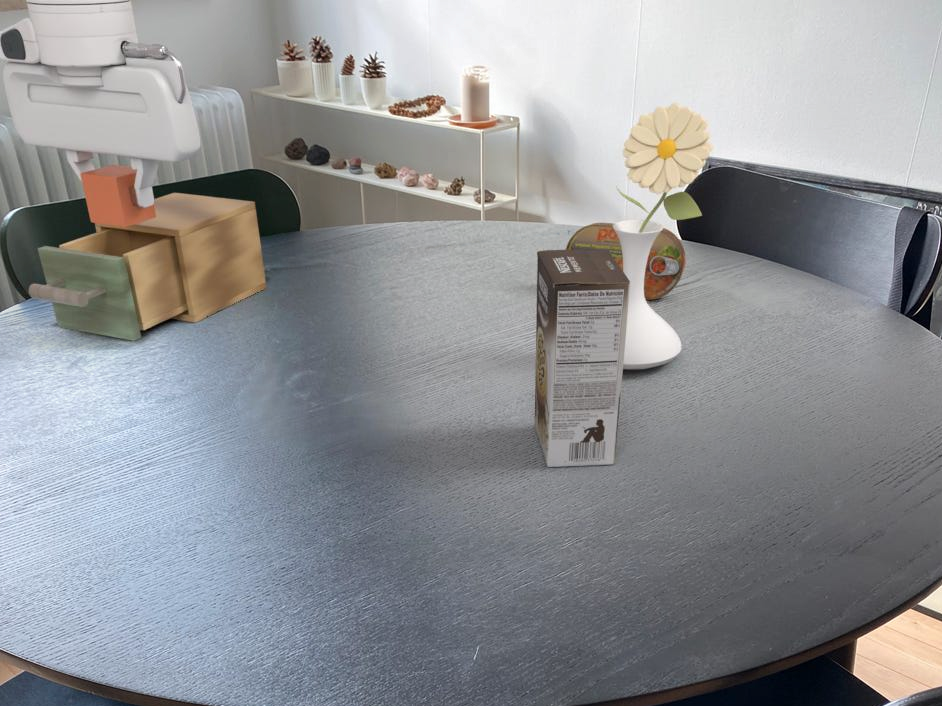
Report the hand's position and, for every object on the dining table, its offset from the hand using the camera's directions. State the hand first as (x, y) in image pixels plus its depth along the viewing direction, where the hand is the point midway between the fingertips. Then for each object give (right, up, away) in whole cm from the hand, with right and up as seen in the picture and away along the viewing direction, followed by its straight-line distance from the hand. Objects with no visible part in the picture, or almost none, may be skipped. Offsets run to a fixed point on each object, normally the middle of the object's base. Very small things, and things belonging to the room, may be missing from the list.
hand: (120, 202), depth 97 cm
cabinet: (-1, 0, +28) cm, 28 cm away
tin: (+54, +1, +28) cm, 61 cm away
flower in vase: (+52, -13, +9) cm, 55 cm away
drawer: (-6, -6, +18) cm, 20 cm away
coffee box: (+44, -26, -7) cm, 52 cm away
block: (0, -1, +1) cm, 2 cm away
